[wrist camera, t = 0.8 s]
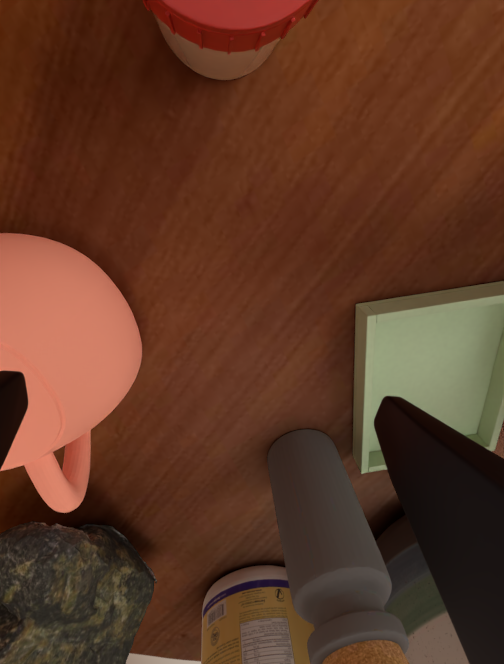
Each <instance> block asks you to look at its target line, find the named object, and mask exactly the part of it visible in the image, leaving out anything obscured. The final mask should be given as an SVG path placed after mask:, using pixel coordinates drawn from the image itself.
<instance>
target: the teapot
mask: <svg viewBox="0 0 504 664" xmlns="http://www.w3.org/2000/svg"><path fill="white" fill-rule="evenodd" d="M141 359H142V342H141V338H140V333H139V329H138V327H137V324H136V321H135V318H134V315H133V313H132V311H131V309H130V307H129V305H128V303H127V301H126V300H125V298H124V297H123V295H122V294H121V292H120V290H119V289H118V288H117V287H116V285H115V284H114V283H113V281H112V280H111V279H110V278H109V277H108V276H107V275H106V273H105V272H104V271H103V270H102V269H101V268H100V267H99V266H98V265H96V264H95V263H94V262H93V261H91V260H90V259H89V258H88V257H86V256H85V255H83V254H82V253H80V252H78V251H77V250H75V249H73V248H71V247H69V246H67V245H64V244H62V243H60V242H57V241H54V240H50V239H47V238H43V237H38V236H32V235H27V234H15V233H0V371H3V370H6V371H20V372H22V373H23V374H24V377H25V382H26V388H27V394H28V408H27V411H26V414H25V416H24V418H23V420H22V423H21V425H20V427H19V430H18V432H17V434H16V436H15V439H14V441H13V443H12V445H11V448H10V450H9V452H8V455H7V457H6V459H5V461H4V463H3V466H2V468H1V470H0V471H2V470H7V469H12V468H15V467H19V466H22V465H24V466H25V468H26V471H27V473H28V475H29V477H30V478H31V480H32V482H33V484H34V486H35V488H36V489H37V491H38V493H39V494H40V496H41V497H42V499H43V500H44V501H45V502H46V504H47V505H48V506H49V507H50V508H52V509H53V510H55V511H57V512H62V513H67V512H70V511H73V510H74V509H76V508H77V507H79V505H80V504H81V502H82V501H83V499H84V496H85V493H86V489H87V485H88V480H89V473H90V451H91V429H92V428H94V427H95V426H96V425H97V424H98V423H100V422H101V421H102V420H103V419H104V418H105V417H106V416H108V415H109V414H110V413H111V412H112V411H113V410H114V409H115V407H116V406H117V405H118V404H119V403H120V402H121V400H122V399H123V398H124V397H125V395H126V394H127V392H128V391H129V389H130V388H131V386H132V384H133V383H134V381H135V379H136V376H137V374H138V371H139V368H140V365H141ZM63 446H65V454H64V462H63V468H62V470H61V468H60V466H59V464H58V462H57V460H56V458H55V456H54V454H53V452H54V451H55V450H57V449H59V448H61V447H63Z"/></svg>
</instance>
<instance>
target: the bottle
mask: <svg viewBox="0 0 504 664" xmlns="http://www.w3.org/2000/svg"><path fill="white" fill-rule="evenodd" d="M267 462H268V470H269V476H270V482H271V487H272V493H273V499H274V505H275V510H276V516H277V522H278V528H279V533H280V539H281V544H282V550H283V555H284V561H285V566H286V572H287V577H288V583H289V588H290V593H291V598H292V603H293V607H294V610H295V611H296V613H297V614H298V615H299V616H300V617H301V618H302V619H304V620H305V621H307V622H309V623H311V624H313V625H314V629H315V630H314V631H313V632H312V633H311V635H310V637H309V638H308V642H307V649H308V655H309V660H310V664H409V662H408V660H407V658H406V657H405V654H406V652H407V650H408V648H409V640H408V637H407V635H406V632H405V630H404V627H403V625H402V623H401V621H400V619H398V618H397V617H396V616H395V615H393V614H391V613H389V612H386V611H385V609H384V605H385V604H386V602H387V601H388V599H389V596H390V594H391V590H392V582H391V579H390V576H389V574H388V571H387V568H386V566H385V563H384V561H383V558H382V556H381V553H380V551H379V549H378V546H377V544H376V541H375V539H374V537H373V534H372V532H371V530H370V527H369V525H368V522H367V520H366V518H365V515H364V513H363V510H362V508H361V506H360V503H359V501H358V499H357V496H356V494H355V491H354V489H353V487H352V484H351V482H350V479H349V477H348V475H347V472H346V470H345V468H344V465H343V463H342V460H341V458H340V456H339V453H338V451H337V449H336V447H335V445H334V443H333V441H332V440H331V438H330V437H329V436H328V435H326V434H325V433H323V432H320V431H317V430H311V429H302V430H296V431H293V432H290V433H288V434H286V435H283V436H282V437H280V438H279V439H278V440H277V441H276V442H274V444H273V445H272V446H271V448H270V450H269V452H268V457H267Z"/></svg>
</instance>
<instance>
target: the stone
mask: <svg viewBox="0 0 504 664" xmlns="http://www.w3.org/2000/svg"><path fill="white" fill-rule="evenodd" d="M154 581H156V579H155V576H154V573H153V571H152V570H151V568H149V567H148V566H147V564H146V562H144V561H143V560H142V558H141V557H140V555H139V554H138V552H137V550H136V549H135V548H134V547H133V545H132V544H131V543H130V542H129V541H128V540H127V538H126V537H125V536H124V535H123V534H121V533H120V532H118V531H117V530H116V529H115V528H114V527H112V526H109V525H102V526H101V525H95V524H85V525H83V526H81V527H79V528H77V529H74V528H71V527H64V526H62V525H59V524H58V523H56V524H54V525H52V526H48V525H46V523H42V522H35V521H32V522H28V523H24V524H20V525H18V526H15V527H12V528H10V529H8V530H6V531H4V532H3V533H1V534H0V664H126V660H127V657H128V655H129V652H130V650H131V647H132V645H133V641H134V637H135V635H136V633H137V631H138V629H139V626H140V624H141V622H142V620H143V617H144V615H145V612H146V609H147V606H148V605H149V603H150V601H151V598H152V594H153V591H154ZM155 583H157V581H156V582H155Z"/></svg>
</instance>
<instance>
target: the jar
mask: <svg viewBox="0 0 504 664" xmlns="http://www.w3.org/2000/svg"><path fill="white" fill-rule="evenodd" d="M153 14H154V13H153ZM154 16H155V19H156V21H157V23H158V26H159V28H160V30H161V32H162V34H163V37H164V38H165V40H166V42H167V43H168V45H169V47H170V48H171V49H172V51H173V52H174V53H175V55H176V56H177V57H178V58H179V59H180V60H181V61H182V62H183V63H184V64H185V65H186V66H188V67H189V68H190V69H192V70H193V71H195V72H197V73H198V74H200V75H203V76H205V77H208V78H212V79H217V80H232V79H237V78H240V77H243V76H245V75H247V74H249V73H251V72H253V71H254V70H256V69H257V68H258V67H259V66H261V65H262V64H263V62H264V61H265V60H266V59H267V58H268V57H269V55H270V54H271V53H272V51H273V50H274V48H275V46H276V45H277V43H278V41H279V40H280V38H281V37H280V38H278V39H276V40H274V41H273V42H271V43H269V44H267V45H264V46H262V47H260V49H259V51H256V52H255V49H252V50H248V51H243V52H231V55H227V52H223V51H215V50H212V49H208V48H205V47H203V50H202V49H199V45H197V44H195V43H192V42H190V41H188V40H186V39H185V38H183V37H182V36H180V35H179V34H177V33H175V35H174V34H172V33H171V30H170V28H169V27H168V26H167V25H166V24H164V23H163V22H162V21H161V20H160V19H159V18H158V17H157V16H156V15H155V14H154Z"/></svg>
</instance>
